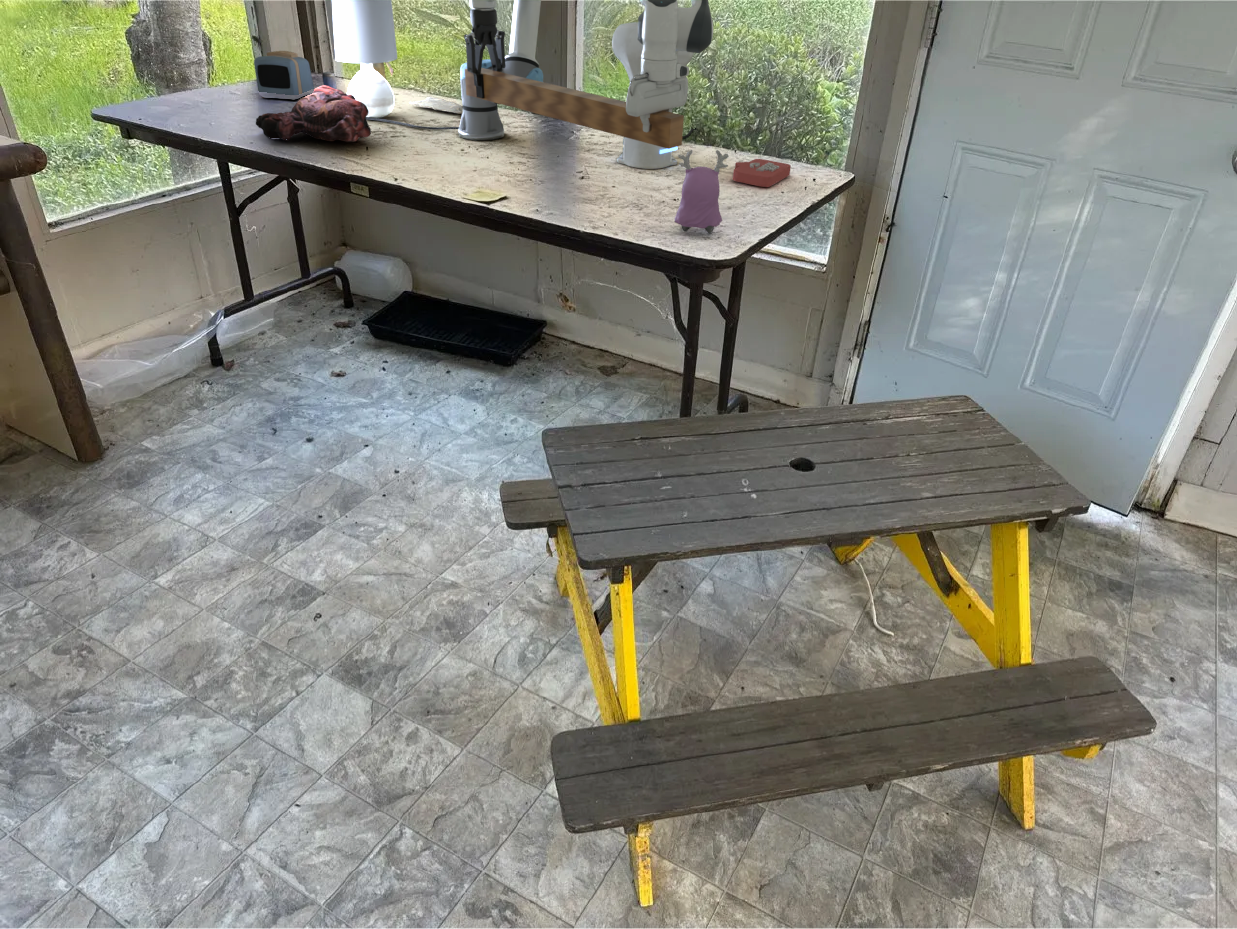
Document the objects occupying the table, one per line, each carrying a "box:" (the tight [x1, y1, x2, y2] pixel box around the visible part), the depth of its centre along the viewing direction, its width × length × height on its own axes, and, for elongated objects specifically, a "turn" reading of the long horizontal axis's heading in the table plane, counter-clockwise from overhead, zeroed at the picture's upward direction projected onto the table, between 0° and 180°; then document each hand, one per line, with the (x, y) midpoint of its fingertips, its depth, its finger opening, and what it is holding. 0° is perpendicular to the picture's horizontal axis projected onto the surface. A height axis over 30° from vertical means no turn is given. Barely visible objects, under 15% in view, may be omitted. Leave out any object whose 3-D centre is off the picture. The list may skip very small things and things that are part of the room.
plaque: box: [732, 158, 792, 188], centre depth 254 cm, size 18×4×15 cm
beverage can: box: [321, 71, 338, 90], centre depth 314 cm, size 9×8×12 cm
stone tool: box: [408, 96, 463, 115], centre depth 318 cm, size 11×3×25 cm
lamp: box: [324, 0, 398, 119], centre depth 295 cm, size 22×22×40 cm
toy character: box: [674, 149, 730, 234], centre depth 207 cm, size 12×10×20 cm
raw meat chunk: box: [255, 84, 372, 143], centre depth 275 cm, size 43×30×13 cm
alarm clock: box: [253, 50, 315, 95], centre depth 326 cm, size 16×16×16 cm
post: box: [465, 68, 685, 149], centre depth 234 cm, size 79×5×7 cm, turn 48°
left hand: (488, 96), depth 253 cm, fingers closed on post, 5 cm apart
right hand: (655, 129), depth 216 cm, fingers closed on post, 5 cm apart
